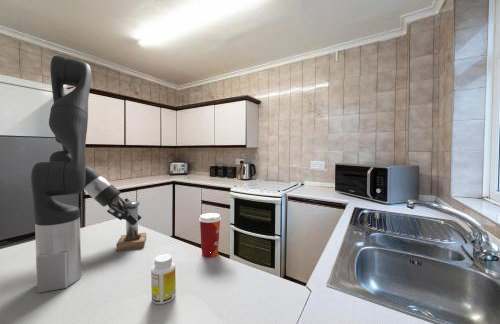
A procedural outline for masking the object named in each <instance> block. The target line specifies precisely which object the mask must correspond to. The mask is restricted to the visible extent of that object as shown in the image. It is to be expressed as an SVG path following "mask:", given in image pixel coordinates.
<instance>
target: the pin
mask: <svg viewBox="0 0 500 324" xmlns="http://www.w3.org/2000/svg"><path fill="white" fill-rule="evenodd" d="M129 201H130V200H129ZM139 206H140V201H138V200H131V201H130V202H126V203H124V207H126V208H127V212H128V213H129V214H130V215H131V216H132V217H134V218H135V219H136V220H137V223H136V224H135V225H131V224H130V223H129V222H128V221H127V220H125V230H126V231H125V235H126V237H128V238H132V237H136V236H138V233H139V221H138V215H139ZM130 215H129V216H130Z"/></svg>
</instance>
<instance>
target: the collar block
mask: <svg viewBox="0 0 500 324" xmlns="http://www.w3.org/2000/svg"><path fill="white" fill-rule="evenodd" d="M146 241H147V232H138V236H136V237H132V238H128V237H126V234H121V235H120V237H119V239H118V241H117V243H116V247H115V249H116V251H117V252H120V251H127V250H134V249H135V250H136V249H143V248H145V245H146Z"/></svg>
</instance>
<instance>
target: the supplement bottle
mask: <svg viewBox="0 0 500 324" xmlns="http://www.w3.org/2000/svg"><path fill="white" fill-rule="evenodd" d="M150 275H151V276H150V278H151V279H150V280H151V283H150V284H151V285H150V286H151V300H152V302H153V303H154V304H156V305H164V304H167V303H169V302H171V301H172V300H173V299H174V298H175V296H176V293H177V292H176V287H177V286H176V283H177V282H176V264H175V262H173V256H172V254H169V253H164V254H160V255H159V254H158V256H156V257H155V258H154V265H152V267H151V269H150Z"/></svg>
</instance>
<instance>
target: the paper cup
mask: <svg viewBox="0 0 500 324" xmlns="http://www.w3.org/2000/svg"><path fill="white" fill-rule="evenodd" d="M198 220H199V224H200V226H199V227H200V243H201V244H200V246H201V255H202V257H203V258H206V259H211V258H215V257H217V256H218V254H219V244H220V242H219V241H220V229H221V228H220V227H221V220H222V218H221V215H220V213H216V212H207V213H203V214H200V216H199V218H198ZM210 252H211V253H210Z"/></svg>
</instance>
